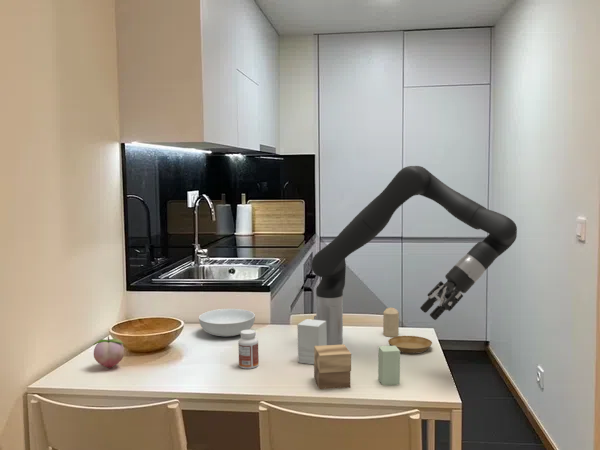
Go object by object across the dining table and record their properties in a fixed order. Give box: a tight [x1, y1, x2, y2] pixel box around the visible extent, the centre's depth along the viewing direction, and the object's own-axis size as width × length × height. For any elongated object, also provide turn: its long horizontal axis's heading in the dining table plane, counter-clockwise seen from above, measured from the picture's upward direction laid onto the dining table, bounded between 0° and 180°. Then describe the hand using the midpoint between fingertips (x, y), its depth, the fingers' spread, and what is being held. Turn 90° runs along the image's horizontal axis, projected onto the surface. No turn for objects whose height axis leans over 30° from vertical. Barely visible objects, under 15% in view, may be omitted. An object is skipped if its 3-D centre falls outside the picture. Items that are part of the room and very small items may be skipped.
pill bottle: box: [237, 329, 260, 370], centre depth 190 cm, size 6×6×11 cm
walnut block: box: [313, 363, 351, 390], centre depth 176 cm, size 9×9×5 cm
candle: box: [382, 307, 400, 338], centre depth 222 cm, size 6×6×10 cm
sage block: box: [377, 345, 401, 386], centre depth 175 cm, size 5×5×10 cm
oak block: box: [314, 343, 352, 373], centre depth 175 cm, size 9×9×5 cm
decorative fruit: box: [93, 336, 125, 369], centre depth 190 cm, size 9×8×10 cm
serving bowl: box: [198, 308, 256, 338], centre depth 226 cm, size 21×21×7 cm
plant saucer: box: [387, 335, 433, 354], centre depth 207 cm, size 15×15×3 cm
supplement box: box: [296, 318, 327, 365], centre depth 195 cm, size 7×7×13 cm
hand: (427, 314), depth 176 cm, fingers open, 8 cm apart
